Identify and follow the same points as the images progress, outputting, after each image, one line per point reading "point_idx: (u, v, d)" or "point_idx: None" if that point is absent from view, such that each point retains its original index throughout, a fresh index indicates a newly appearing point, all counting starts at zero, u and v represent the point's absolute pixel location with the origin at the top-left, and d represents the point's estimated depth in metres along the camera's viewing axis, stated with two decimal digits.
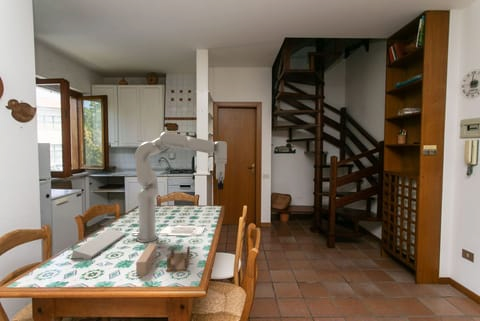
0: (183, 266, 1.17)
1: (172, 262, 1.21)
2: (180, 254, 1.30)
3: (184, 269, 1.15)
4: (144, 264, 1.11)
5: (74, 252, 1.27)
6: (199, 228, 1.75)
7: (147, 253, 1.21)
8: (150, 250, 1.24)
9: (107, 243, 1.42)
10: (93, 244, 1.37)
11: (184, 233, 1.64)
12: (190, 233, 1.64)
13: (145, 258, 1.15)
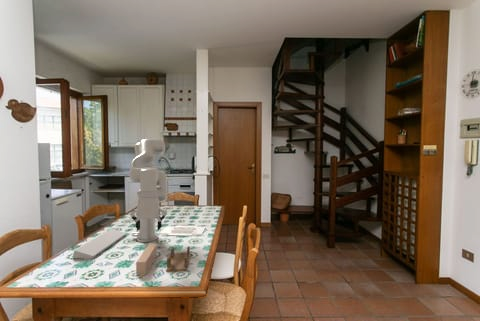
0: (183, 266, 1.17)
1: (172, 262, 1.21)
2: (180, 254, 1.30)
3: (184, 269, 1.15)
4: (144, 264, 1.11)
5: (75, 252, 1.27)
6: (199, 228, 1.75)
7: (147, 253, 1.21)
8: (150, 250, 1.24)
9: (108, 243, 1.42)
10: (94, 244, 1.37)
11: (184, 233, 1.64)
12: (190, 233, 1.64)
13: (145, 258, 1.15)
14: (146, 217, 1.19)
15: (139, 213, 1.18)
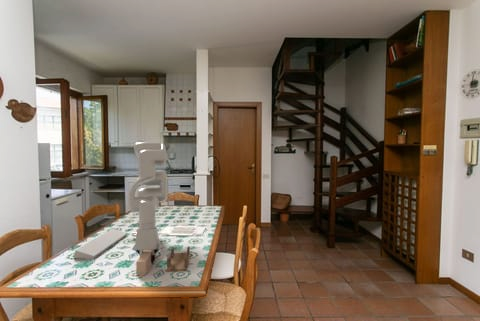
0: (183, 266, 1.17)
1: (172, 262, 1.21)
2: (180, 254, 1.30)
3: (184, 269, 1.15)
4: (144, 264, 1.11)
5: (76, 252, 1.27)
6: (199, 228, 1.75)
7: (147, 252, 1.20)
8: (150, 250, 1.24)
9: (109, 243, 1.42)
10: (95, 244, 1.37)
11: (185, 233, 1.64)
12: (191, 233, 1.64)
13: (145, 258, 1.15)
14: (145, 248, 1.19)
15: (138, 245, 1.19)
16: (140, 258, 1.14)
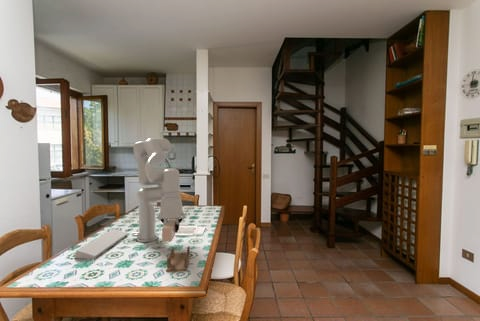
0: (183, 266, 1.17)
1: (172, 262, 1.21)
2: (180, 254, 1.30)
3: (184, 269, 1.15)
4: (170, 230, 1.11)
5: (77, 252, 1.27)
6: (200, 228, 1.75)
7: (171, 221, 1.21)
8: (174, 220, 1.24)
9: (110, 243, 1.42)
10: (96, 244, 1.37)
11: (185, 233, 1.64)
12: (191, 233, 1.64)
13: (170, 225, 1.15)
14: (169, 217, 1.19)
15: (162, 213, 1.19)
16: (165, 225, 1.14)
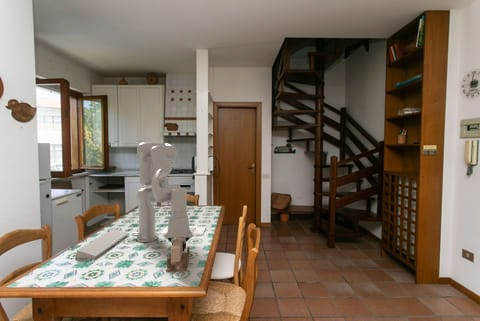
0: (183, 266, 1.17)
1: (172, 262, 1.21)
2: None
3: (184, 269, 1.15)
4: (178, 251, 1.12)
5: (78, 252, 1.27)
6: (200, 228, 1.75)
7: (179, 240, 1.22)
8: (181, 238, 1.25)
9: (110, 243, 1.42)
10: (97, 244, 1.37)
11: None
12: None
13: (178, 245, 1.16)
14: (177, 236, 1.20)
15: (170, 232, 1.20)
16: (173, 245, 1.15)
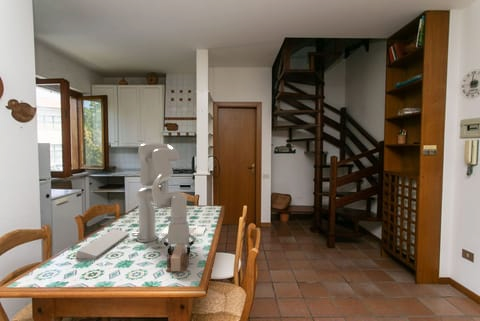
0: (183, 266, 1.17)
1: None
2: None
3: (184, 269, 1.15)
4: (178, 260, 1.13)
5: (78, 252, 1.27)
6: (200, 228, 1.75)
7: (179, 249, 1.22)
8: (181, 247, 1.25)
9: (111, 243, 1.42)
10: (97, 244, 1.37)
11: None
12: (191, 233, 1.64)
13: (178, 254, 1.16)
14: (177, 243, 1.20)
15: (170, 239, 1.20)
16: (173, 254, 1.16)
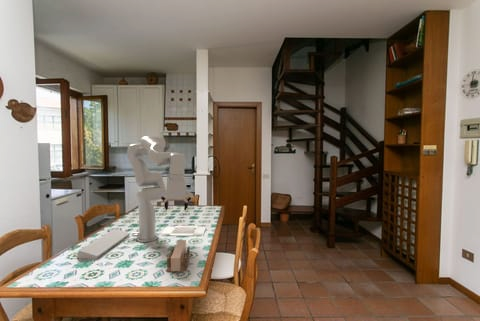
0: (183, 266, 1.17)
1: None
2: None
3: (184, 269, 1.15)
4: (178, 260, 1.13)
5: (79, 252, 1.27)
6: (200, 228, 1.75)
7: (179, 249, 1.22)
8: (181, 247, 1.25)
9: (112, 243, 1.42)
10: (98, 244, 1.37)
11: (186, 233, 1.64)
12: (192, 233, 1.64)
13: (178, 254, 1.16)
14: (174, 198, 1.28)
15: (168, 194, 1.28)
16: (173, 254, 1.16)
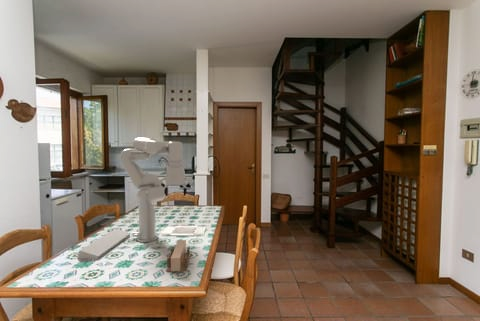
0: (183, 266, 1.17)
1: None
2: None
3: (184, 269, 1.15)
4: (178, 260, 1.13)
5: (80, 252, 1.27)
6: (200, 228, 1.75)
7: (179, 249, 1.22)
8: (181, 247, 1.25)
9: (113, 243, 1.42)
10: (99, 244, 1.37)
11: (186, 233, 1.64)
12: (192, 233, 1.64)
13: (178, 254, 1.16)
14: (174, 184, 1.35)
15: (168, 180, 1.34)
16: (173, 254, 1.16)
